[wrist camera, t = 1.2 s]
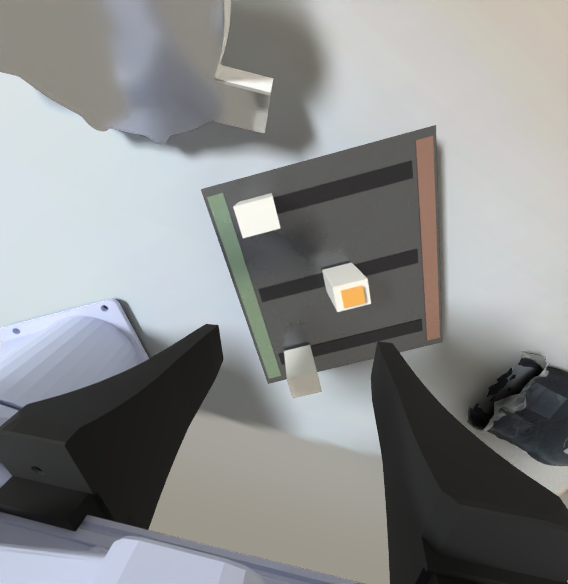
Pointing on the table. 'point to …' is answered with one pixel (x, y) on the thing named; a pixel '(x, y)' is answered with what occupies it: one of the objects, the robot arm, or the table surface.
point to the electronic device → (531, 413)
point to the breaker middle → (346, 287)
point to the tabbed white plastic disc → (133, 63)
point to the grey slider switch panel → (339, 251)
